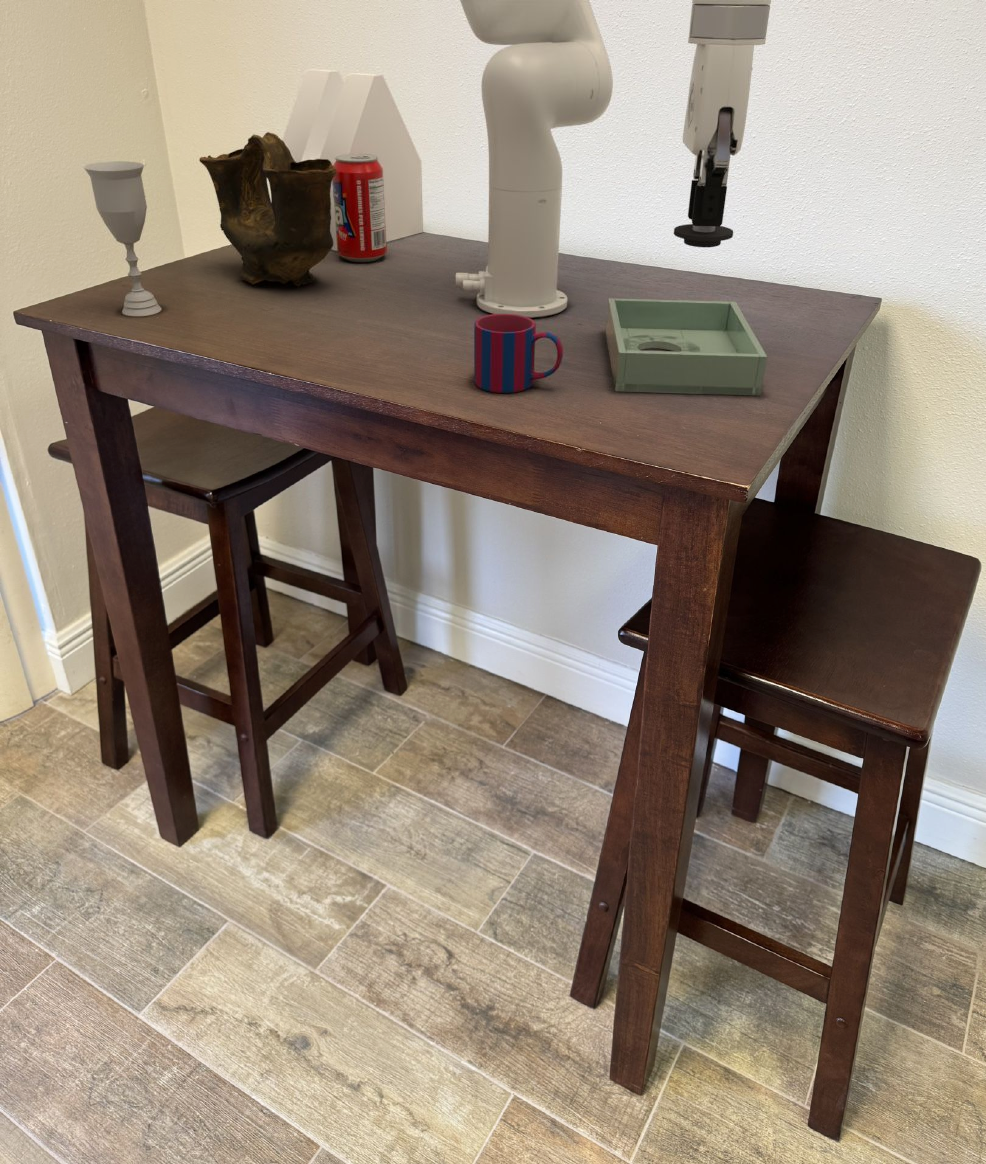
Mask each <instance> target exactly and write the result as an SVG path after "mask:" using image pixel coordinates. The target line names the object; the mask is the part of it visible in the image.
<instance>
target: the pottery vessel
mask: <svg viewBox="0 0 986 1164" xmlns="http://www.w3.org/2000/svg"><path fill="white" fill-rule="evenodd" d="M199 162H200V163H201V164H202V165H203V166H204V168H206V170H207V172H208V174H209V176H210V179H211V181H212V184H213V188H214V191H215V195H216V200H217V203H218V208H219V209H218V210H219V213H220V223H219V228H220V230H221V231H222V232H223V234H224V236H225V237H226V240H228V241H229V243H230V244H231V245H232V246H233V247H234V249H235V250H236V251H237V252H238V254H239V255H240V256H241V257H240V258H241V260H242V270H241V273H240V275H239V276H240V279H241V280H243V281H246V282H248V283H249V284H252V285H254V284H255V285H256V284H257V283H260V282H262V281H268V282H279V283H282V284H287V283H289V282H292V283H293V285H294V286H297V287H300V286H301V285H302V286H304V285H306V284H311V283H312V282H314V279H315V278H314V276H313V275H312V273H311V272H310V270H311V269H312V268H313V267H315V266H316V265H317V264H319V263H321V262H322V261H323V260H325V258H326V257H327V256H328V254H329V253H330V251H332V250H331V249H332V247H333V239H332V235H331V232H330V225H331V198H330V191H331V190H330V189H331V182H332V179H333V177H334V176H335V175H336V173H337V171H336V169H334V166H333V165H332V163H331V161H329V160H328V159H315V160H306V161H301V162H298V163H297V162H295V161H294V159H293V157H292V155H291V153H290V150H289V149H288V148H287V146H286V145H285V143H284V141H282V139H281V138H280V137H279V135H277V134H275V133H273V132H270V131H267V132H266V133H265V134H264V135H263V136H260V135H258V134H255V133H254V134H252V135H251V136H250V137H249V138H248V139H247V144H245V145H244V146H243V148H239V149H236V150H233V151H232V152H228V153H221V154H219V155H218V156H216V157H213V156H211V155H207V156H201V157H199ZM268 184H269V185H268Z"/></svg>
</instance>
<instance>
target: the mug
mask: <svg viewBox="0 0 986 1164" xmlns="http://www.w3.org/2000/svg"><path fill="white" fill-rule="evenodd" d="M473 325H474V327H473V328H474V329H473V331H474V332H473V345H474V346H473V348H474V349H473V358H474V359H473V383H474V384H475V386H476V387H478V388H480V389H481V390H483V391H486V392H490V393H496V394H497V393H499V394H514V393H519V392H523V391H527V390H529V389H530V388H532V387H533V384H534V381H535V380H540V379H545V378H548V377H549V376H551V375H553V374H555V372H557V370H559V368H560V366H561V364H562V360H563V356H564V349H563V343H562V341H561V339H560V338H559V336H558V335H556V334H554V333H552V332H547V331H546V332H545V331H544V332H537V333H536V331H537V330H536V328H537V327H536V326H537V324H536V322H535V320H534V319H532V318H528V317H525V316H521V315H515V314H492V313H491V314H485V315H483V316H480V317H478V318H477V319H475V321H474V323H473ZM544 338H546V339H550V340H551V341H552V342H553V343H554V345H555V347H556V361H555V364H554V366H552V368H551V369H549V370H547V371H543V372H536V371H535V360H536V359H535V358H536V355H535V354H536V342H537V341H538V340H540V339H544Z"/></svg>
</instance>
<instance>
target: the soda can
mask: <svg viewBox="0 0 986 1164" xmlns="http://www.w3.org/2000/svg"><path fill="white" fill-rule="evenodd" d="M335 160H336V161H335V163H334V165H333V166H334V169H336V171H337V173H336V175H335V176H334V177H333V179H332V186H333V199H334V213H335V227H336V240H337V251H336V252H337V254H338V256H339V257H341V258H343V259H344V260H346V261H348V262H352V263H371V262H376V261H378V260H380V259H381V258H383V257H384V256H386V255H387V250H388V249H387V248H388V246H387V245H388V243H387V242H386V223H385V201H384V179H383V168H382V166H381V165H380V163H379V162H378V157H377V156H375V155H370V154H343V155H338V156H336V157H335Z"/></svg>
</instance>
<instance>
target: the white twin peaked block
mask: <svg viewBox="0 0 986 1164" xmlns="http://www.w3.org/2000/svg"><path fill="white" fill-rule="evenodd" d="M281 140H282V141H284V143H285V145H286V146H287V148H288V149H289V150H290V153H291V155H292V157H293V159H294V161H295V162H297V163H298V162H301V161H306V160H315V159H328V160H329V161H331V163H332V165H334V163H335V161H336V160H335V157H336V156H338V155H343V154H370V155H375V156H377V157H378V162H379V163H380V165H381V166H382V168H383V179H384V201H385V223H386V243H388V242H392V241H396V240H400V239H403V238H407V237H410V236H413V235H417V234H422V233H424V212H423V211H424V210H423V209H424V207H423V206H424V205H423V173H422V171H423V170H422V169H423V168H422V167H423V166H422V160H421V158H420V155H419V153H418V151H417V149H416V146H415V144H414V142H413V140H412V137H411V134H410V132H409V130H408V129H407V126H406V124H405V122H404V120H403V117H402V114H401V113H400V110H399V108H398V106H397V103H396V102H395V100H394V97H393V95H392V93H391V90H390V87H389V85H388V83H387V81H386V79H385V77H384V74H375V73H374V74H373V73H362V72H350V73H347V74H346V77H345V80H344V79H343V77H342V74H341V73H340V71H339V70H332V69H323V68H322V69H321V68H305V69H304V70H303V73H302V76H301V80H300V83H299V86H298V89H297V93H296V95H295V99H294V102H293V105H292V108H291V111H290V114H289V118H288V120H287V124H286V126H285V129H284V133H283V137H282V139H281ZM330 190H331V191H330V198H331V225H330V232H331V235H332V239H333V247H332V249H331V250H330V251H335V252H338V251H337V240H336V227H335V213H334V199H333V186H332V182H331V189H330Z"/></svg>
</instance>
